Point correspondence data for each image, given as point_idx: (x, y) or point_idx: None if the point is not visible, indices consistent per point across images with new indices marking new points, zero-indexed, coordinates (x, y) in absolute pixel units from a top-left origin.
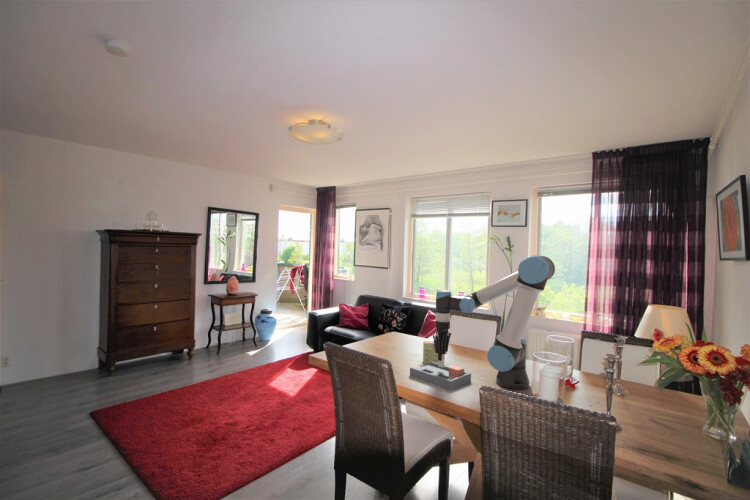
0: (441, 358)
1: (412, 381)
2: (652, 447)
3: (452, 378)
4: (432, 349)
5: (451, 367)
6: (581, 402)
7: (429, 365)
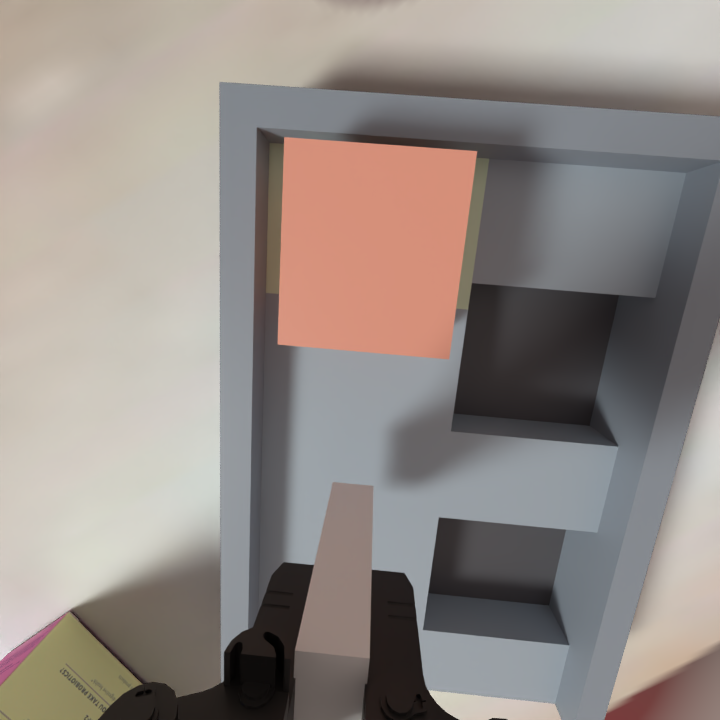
0: (372, 602)
1: (685, 565)
2: None
3: (493, 247)
4: None
5: (413, 330)
6: None
7: None
